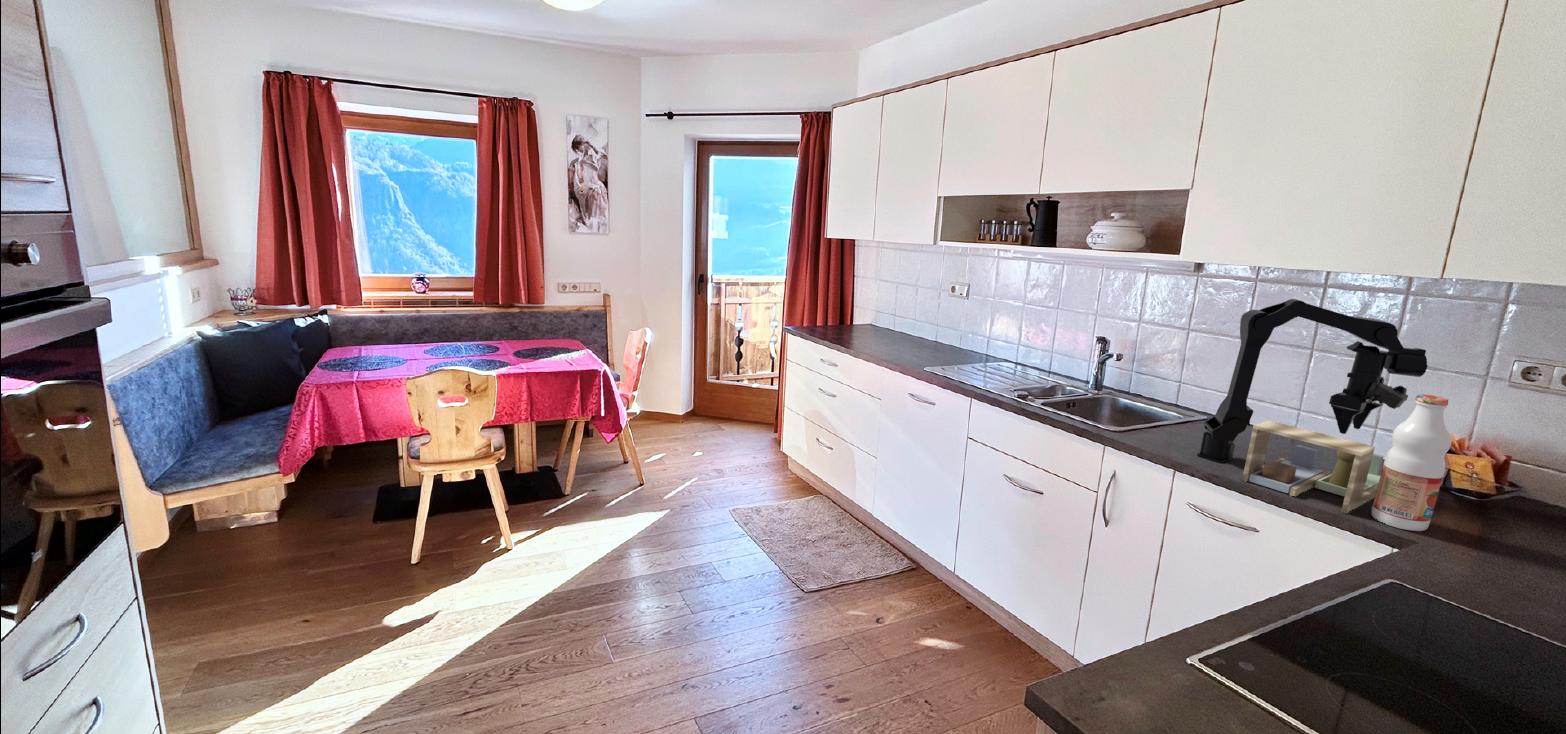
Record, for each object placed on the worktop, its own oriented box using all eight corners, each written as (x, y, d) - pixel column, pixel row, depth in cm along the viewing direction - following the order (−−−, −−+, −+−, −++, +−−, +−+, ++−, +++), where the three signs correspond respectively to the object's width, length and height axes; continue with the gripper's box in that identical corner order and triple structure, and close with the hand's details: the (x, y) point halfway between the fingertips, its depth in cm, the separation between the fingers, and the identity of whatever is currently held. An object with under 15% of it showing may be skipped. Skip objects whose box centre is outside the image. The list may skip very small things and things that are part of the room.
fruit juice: (1363, 509, 153) (1394, 388, 147) (1416, 518, 150) (1450, 395, 143) (1379, 526, 145) (1413, 399, 138) (1436, 536, 141) (1474, 406, 135)
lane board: (1241, 480, 167) (1253, 424, 164) (1279, 465, 179) (1291, 412, 176) (1346, 514, 150) (1362, 452, 147) (1380, 494, 162) (1395, 437, 159)
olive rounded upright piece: (1328, 493, 162) (1339, 449, 159) (1323, 484, 167) (1333, 442, 164) (1360, 499, 159) (1372, 454, 156) (1354, 490, 164) (1365, 447, 161)
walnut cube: (1259, 483, 166) (1264, 464, 165) (1268, 479, 169) (1273, 460, 168) (1283, 490, 162) (1287, 471, 161) (1292, 486, 165) (1296, 467, 164)
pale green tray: (1314, 487, 164) (1321, 461, 162) (1346, 472, 175) (1352, 448, 173) (1356, 500, 157) (1363, 473, 156) (1386, 483, 168) (1393, 458, 167)
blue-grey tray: (1249, 481, 166) (1254, 455, 165) (1283, 466, 177) (1289, 442, 175) (1287, 493, 159) (1293, 466, 158) (1321, 477, 170) (1327, 452, 169)
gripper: (1395, 382, 156) (1376, 447, 160) (1421, 375, 166) (1403, 436, 170) (1336, 371, 165) (1320, 432, 169) (1365, 365, 175) (1349, 422, 179)
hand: (1349, 431), depth 172 cm, fingers open, 9 cm apart
